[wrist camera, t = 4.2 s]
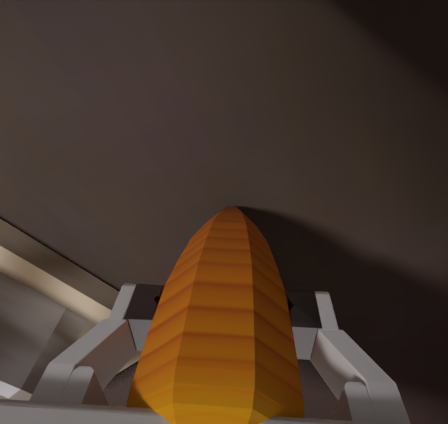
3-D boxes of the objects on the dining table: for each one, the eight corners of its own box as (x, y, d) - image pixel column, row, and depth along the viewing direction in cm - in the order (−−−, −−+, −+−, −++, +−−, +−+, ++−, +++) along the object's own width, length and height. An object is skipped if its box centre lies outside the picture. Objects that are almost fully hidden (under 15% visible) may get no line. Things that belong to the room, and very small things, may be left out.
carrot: (205, 152, 15) (32, 808, 3) (297, 191, 16) (439, 822, 4) (173, 227, 18) (13, 736, 6) (253, 257, 19) (260, 754, 7)
